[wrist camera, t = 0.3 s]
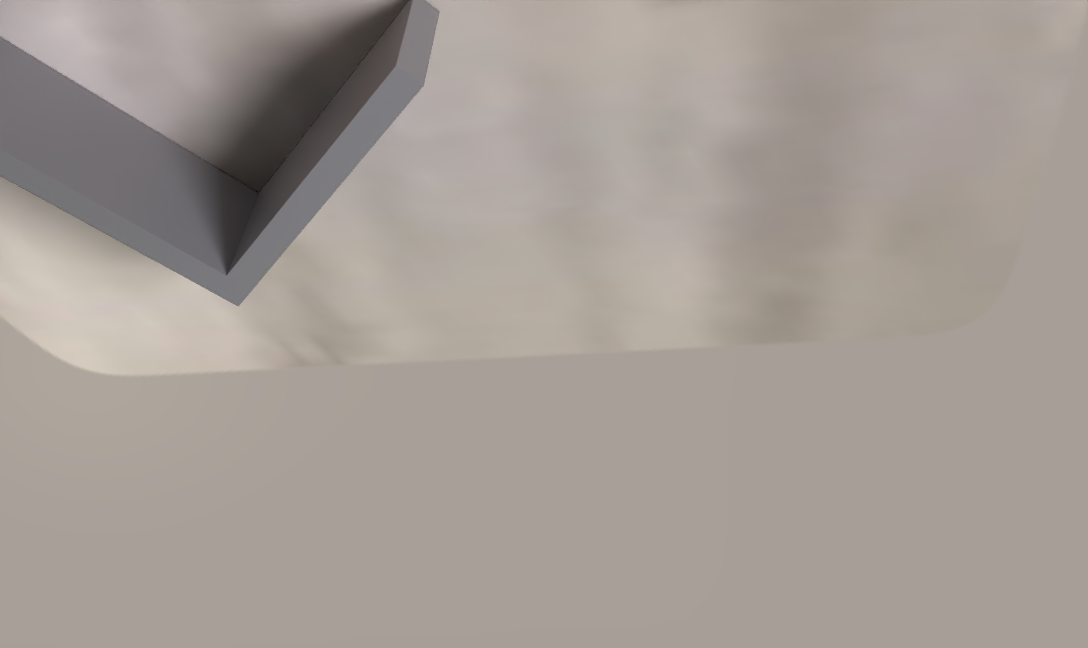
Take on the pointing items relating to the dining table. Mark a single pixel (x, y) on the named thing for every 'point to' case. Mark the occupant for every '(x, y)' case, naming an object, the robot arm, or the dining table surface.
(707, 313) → the dining table surface
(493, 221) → the dining table surface
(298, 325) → the dining table surface
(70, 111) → the box
